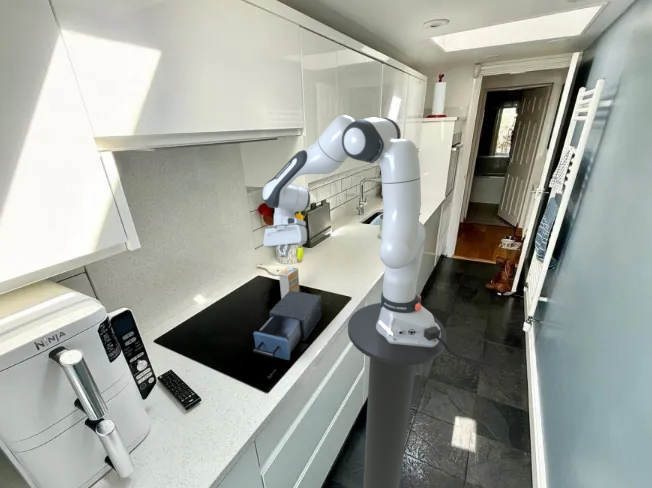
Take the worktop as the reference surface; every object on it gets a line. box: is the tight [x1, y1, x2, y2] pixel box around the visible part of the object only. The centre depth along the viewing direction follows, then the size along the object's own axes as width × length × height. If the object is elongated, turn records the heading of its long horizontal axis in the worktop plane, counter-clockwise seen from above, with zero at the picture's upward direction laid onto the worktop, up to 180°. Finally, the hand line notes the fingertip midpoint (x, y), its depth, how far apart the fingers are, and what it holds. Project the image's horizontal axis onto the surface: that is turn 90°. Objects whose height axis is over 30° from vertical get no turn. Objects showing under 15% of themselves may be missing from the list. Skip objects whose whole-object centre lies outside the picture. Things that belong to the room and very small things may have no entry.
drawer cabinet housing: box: [268, 291, 323, 342], centre depth 117 cm, size 17×14×10 cm
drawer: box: [252, 315, 303, 361], centre depth 105 cm, size 20×12×8 cm, turn 158°
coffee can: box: [378, 214, 383, 239], centre depth 200 cm, size 10×10×14 cm
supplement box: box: [278, 266, 300, 300], centre depth 135 cm, size 8×5×13 cm, turn 151°
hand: (283, 256), depth 124 cm, fingers closed
